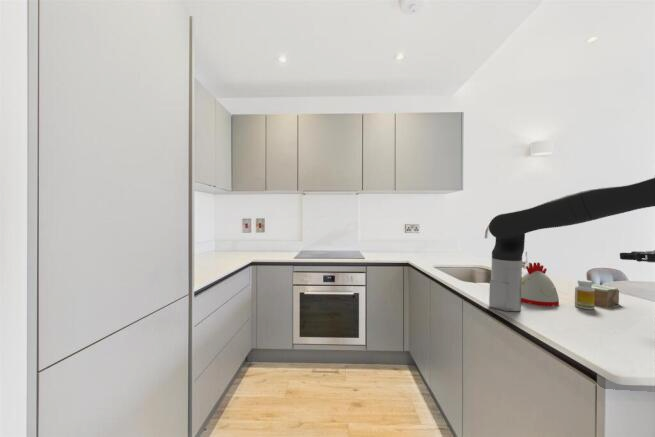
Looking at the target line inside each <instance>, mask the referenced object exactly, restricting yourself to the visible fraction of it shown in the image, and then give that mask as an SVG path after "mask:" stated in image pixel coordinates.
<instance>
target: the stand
mask: <svg viewBox="0 0 655 437" xmlns="http://www.w3.org/2000/svg"><path fill="white" fill-rule="evenodd" d="M591 287H593V288H594V289H595V299H594V305H597V306H602V307H607V308H609V307H612V306H617V305H620V304H619V303H620V301H619V300H620V290H619V289H618V288H617V287H614V286H613V287H611V286H607V285H600V284H595V283H592V286H591ZM616 304H617V305H616Z"/></svg>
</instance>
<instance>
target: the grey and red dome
mask: <svg viewBox="0 0 655 437" xmlns="http://www.w3.org/2000/svg"><path fill="white" fill-rule="evenodd" d="M540 263H541V262H533V264H532V263H531V262H529V263H528V264H529V265H526V266H525V268H526V269H525V270H526V271H527V273H526V274H524V275H522V284H521V303H524V304H527V305H528V304H529V305H532V306H537V307H538V306H539V307H557V306H559V303H560V302H559V294H558V291H557V288H556V286H555V284H554V282H553V281H552V280H551V278H550V277H549V276H548V275H547V274H546V273H547V271H548V270H547V269H548V268H545V267H544V265H541V264H540Z"/></svg>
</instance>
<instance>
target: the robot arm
mask: <svg viewBox="0 0 655 437" xmlns="http://www.w3.org/2000/svg"><path fill="white" fill-rule="evenodd" d="M652 207H655V176H654V177H651V178H649V179H646V180H642V181H639V182H635V183H632V184H627V185H626V184H625V185H619V186H618V185H617V186H607V187H602V186H601V187H594V188H587V189H584V190H581V191H576V192H574V193H569V194H565V195H563V196H560V197H558V198H555V199H551V200H548V201H546V202H543V203H541V204H538V205H535V206H533V207H529V208H525V209H522V210H517V211H513V212H508V213H501V214H498V215H496V216H494V217H493V218H492V219H491V220H490V222H489V224H488V230H489V233H490V234H491V235H492V236H493V237H494V238H495V243H494V247H493V248H492V252H491V268H490V269H491V271H490V272H491V273H490V275H491V277H490V278H491V279H489V296H488V299H489V300H488V303H489V304H488V306H489V307H491V308H493V309H497V310H500V311H504V312H520V311H521V310H522V302H521V284H522V277H523V274H522V272H523V254H524V251H525V242H526V240H525V238H526V234H527V233H530V232H534V231H538V230H539V231H540V230H544V229H545V230H546V229H551V228H553V229H554V228H561V227H569V226H572V225H573V226H574V225H578V224H583V223H587V222H591V221H595V220H599V219H600V220H601V219H603V218H607V217H611V216H616V215H620V214H624V213H628V212H629V213H630V212H633V211H636V210H639V209H646V208H652ZM619 259H620V260H623V261H626V260H627V261H636V262H639V263H640V262H646V263H653V264H654V263H655V250H645V251H631V252H620V253H619Z"/></svg>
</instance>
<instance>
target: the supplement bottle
mask: <svg viewBox="0 0 655 437" xmlns="http://www.w3.org/2000/svg"><path fill="white" fill-rule="evenodd" d="M592 284H593V281H592V280H589V279H588V280H587V279H577V284H576V286H575V287H574V307H575V308H578V309H579V308H580V309H582V310H594V309H595V304H594V299H595V289H594V288H593V287H591V286H592Z"/></svg>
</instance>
